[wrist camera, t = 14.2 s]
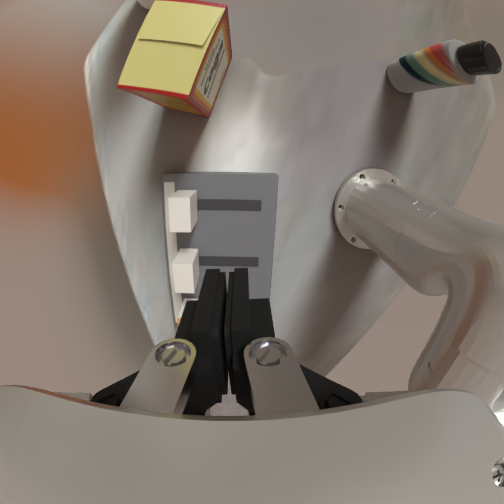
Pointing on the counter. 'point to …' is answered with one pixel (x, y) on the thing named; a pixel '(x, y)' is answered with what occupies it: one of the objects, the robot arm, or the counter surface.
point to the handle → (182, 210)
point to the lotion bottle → (444, 66)
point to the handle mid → (186, 270)
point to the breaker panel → (225, 227)
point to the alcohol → (146, 3)
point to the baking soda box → (180, 55)
